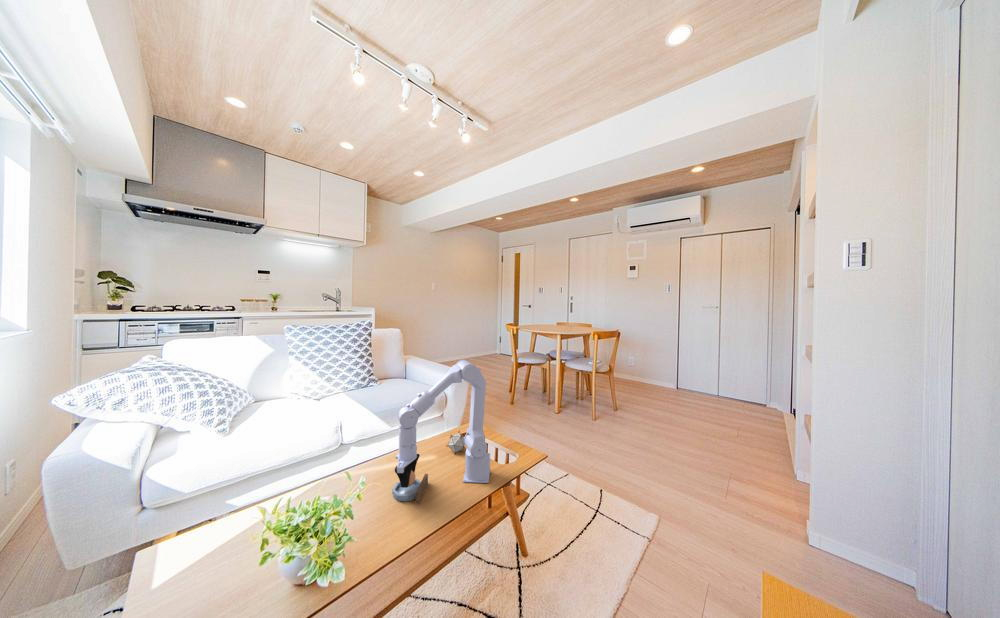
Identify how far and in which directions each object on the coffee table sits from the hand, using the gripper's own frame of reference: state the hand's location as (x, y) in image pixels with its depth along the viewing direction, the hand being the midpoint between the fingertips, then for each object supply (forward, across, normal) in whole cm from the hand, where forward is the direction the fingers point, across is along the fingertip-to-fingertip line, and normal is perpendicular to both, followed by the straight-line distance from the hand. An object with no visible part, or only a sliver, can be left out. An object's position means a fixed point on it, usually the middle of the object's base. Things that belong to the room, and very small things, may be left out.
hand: (407, 481), depth 105 cm
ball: (+1, 0, 0) cm, 1 cm away
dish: (+4, 0, 0) cm, 4 cm away
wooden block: (+4, 0, +5) cm, 6 cm away
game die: (+4, -28, +12) cm, 31 cm away
